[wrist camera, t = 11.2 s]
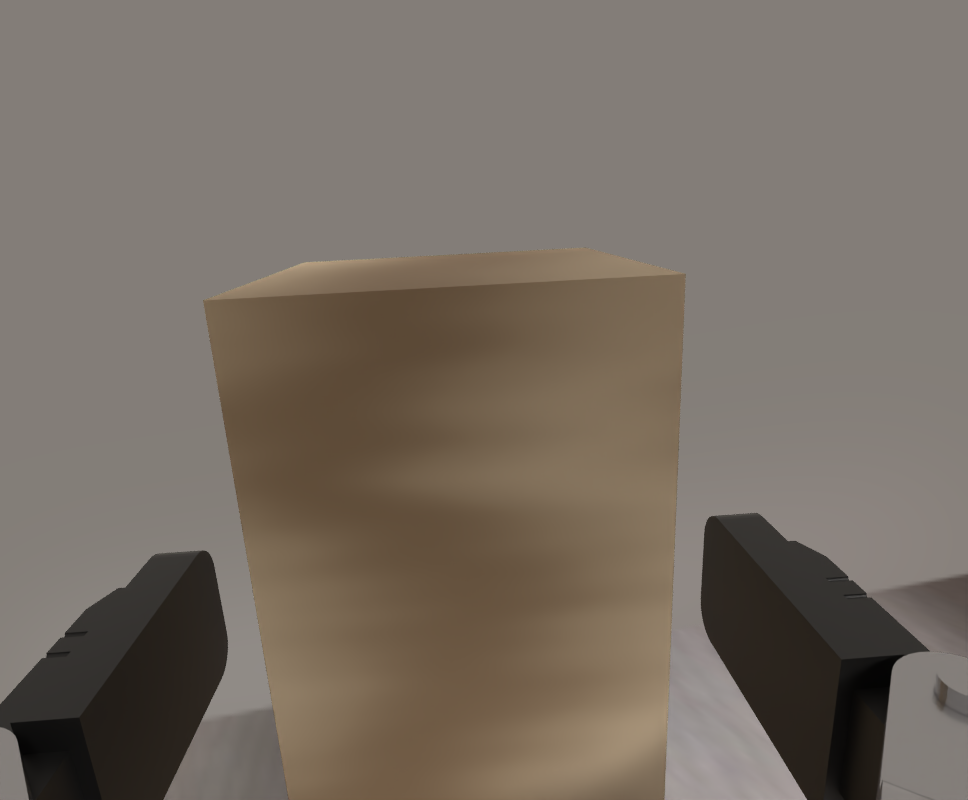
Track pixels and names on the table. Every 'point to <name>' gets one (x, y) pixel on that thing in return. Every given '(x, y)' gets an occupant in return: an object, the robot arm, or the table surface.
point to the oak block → (460, 519)
